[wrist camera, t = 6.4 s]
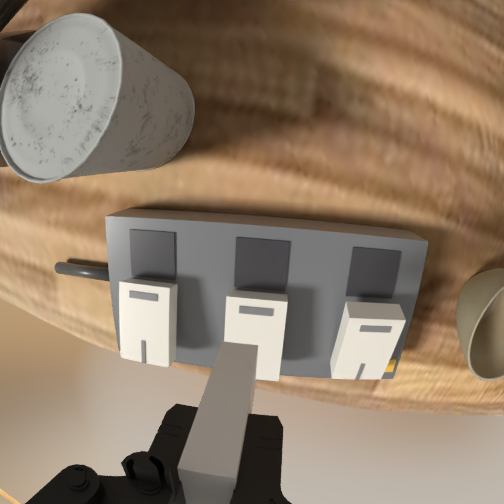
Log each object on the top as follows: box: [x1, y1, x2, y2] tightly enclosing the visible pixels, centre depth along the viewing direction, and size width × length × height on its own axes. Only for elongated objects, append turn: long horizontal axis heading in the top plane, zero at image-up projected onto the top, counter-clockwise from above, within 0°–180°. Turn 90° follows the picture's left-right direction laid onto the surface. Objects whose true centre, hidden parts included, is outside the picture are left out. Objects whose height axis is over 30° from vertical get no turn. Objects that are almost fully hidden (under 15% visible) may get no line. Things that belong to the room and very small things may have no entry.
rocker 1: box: [119, 278, 178, 367], centre depth 23 cm, size 4×6×2 cm, turn 176°
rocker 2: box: [224, 289, 288, 381], centre depth 22 cm, size 4×6×2 cm, turn 177°
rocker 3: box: [330, 301, 406, 380], centre depth 21 cm, size 4×6×2 cm, turn 176°
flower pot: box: [456, 268, 504, 381], centre depth 22 cm, size 10×10×7 cm
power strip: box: [55, 208, 429, 379], centre depth 25 cm, size 33×12×4 cm, turn 86°
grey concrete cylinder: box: [0, 13, 195, 184], centre depth 18 cm, size 10×10×12 cm
